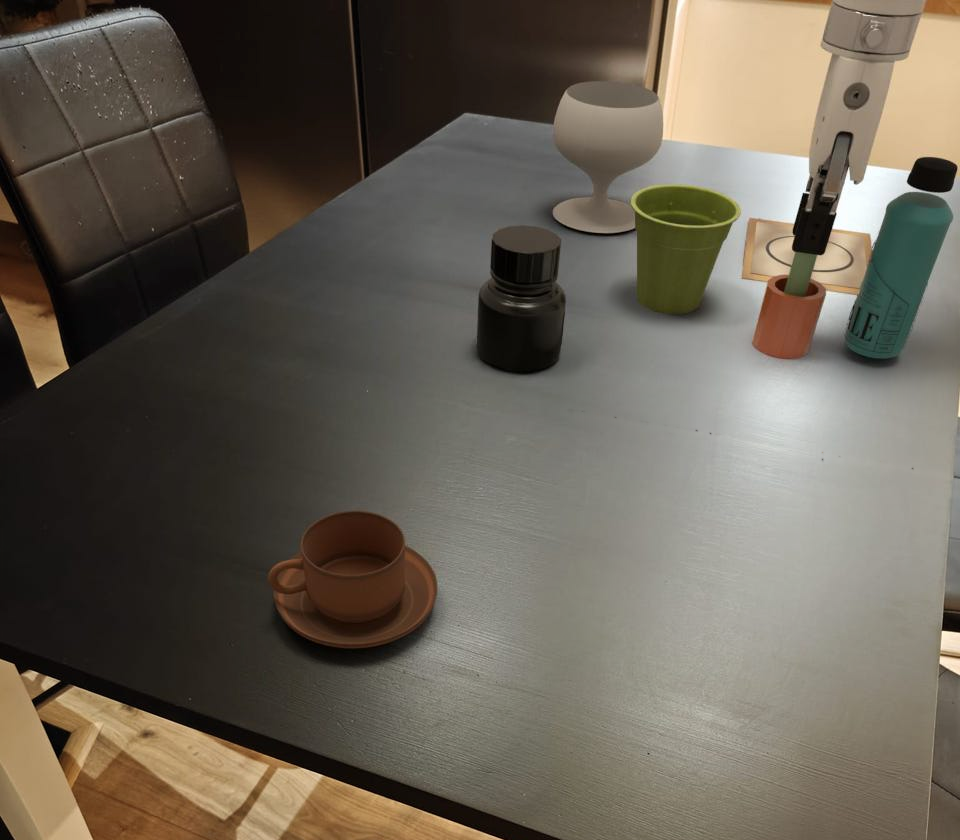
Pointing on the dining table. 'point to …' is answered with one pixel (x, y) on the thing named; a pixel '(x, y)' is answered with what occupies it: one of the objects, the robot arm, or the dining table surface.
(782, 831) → the dining table surface
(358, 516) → the cup and saucer
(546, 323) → the ink bottle
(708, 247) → the plant pot
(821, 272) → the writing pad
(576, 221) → the chalice
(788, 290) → the marker
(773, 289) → the pen cup
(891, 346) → the beverage bottle
